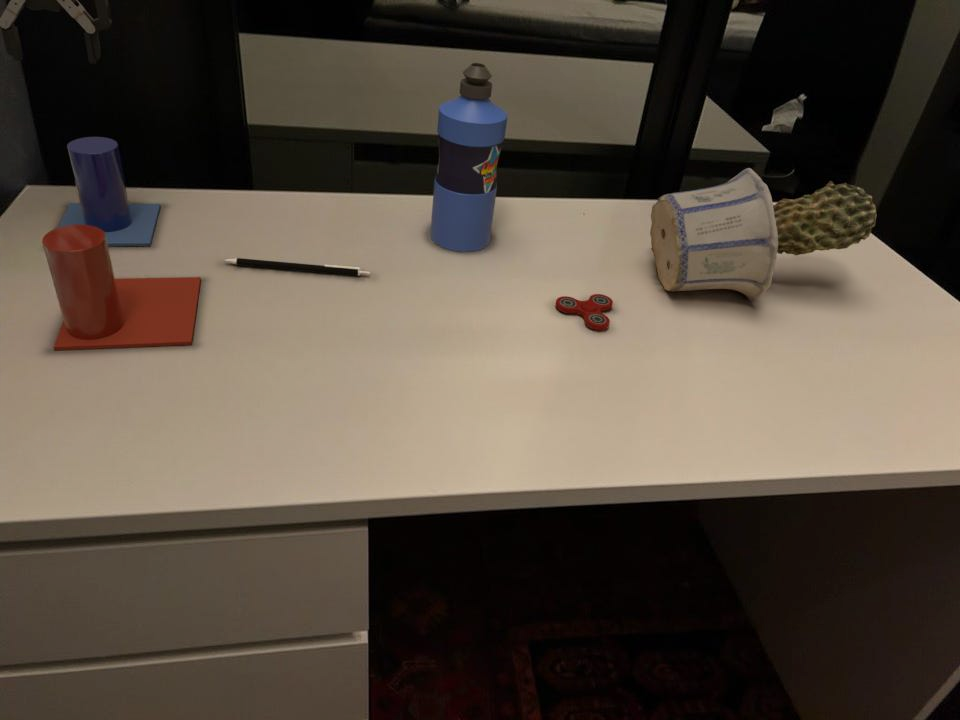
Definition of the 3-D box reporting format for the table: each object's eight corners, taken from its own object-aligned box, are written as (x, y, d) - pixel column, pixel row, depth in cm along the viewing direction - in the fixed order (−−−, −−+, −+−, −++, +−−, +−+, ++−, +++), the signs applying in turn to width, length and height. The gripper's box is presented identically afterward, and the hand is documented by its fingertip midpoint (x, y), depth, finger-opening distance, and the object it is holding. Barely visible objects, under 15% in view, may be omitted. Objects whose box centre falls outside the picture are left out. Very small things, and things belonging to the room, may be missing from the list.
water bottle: (417, 238, 109) (428, 63, 94) (449, 217, 116) (465, 50, 101) (471, 258, 106) (492, 81, 91) (501, 235, 113) (525, 66, 98)
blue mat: (51, 247, 96) (50, 243, 96) (70, 206, 105) (69, 203, 105) (150, 246, 99) (149, 243, 99) (160, 206, 108) (160, 203, 108)
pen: (369, 277, 98) (369, 270, 98) (223, 265, 97) (222, 257, 96) (369, 274, 99) (370, 267, 98) (225, 261, 98) (224, 254, 97)
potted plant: (683, 219, 90) (924, 176, 90) (640, 167, 104) (847, 130, 105) (680, 337, 100) (896, 298, 100) (641, 274, 115) (830, 240, 115)
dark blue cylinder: (81, 232, 99) (62, 153, 92) (89, 212, 103) (72, 136, 97) (129, 232, 100) (113, 154, 94) (134, 212, 105) (120, 137, 98)
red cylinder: (60, 340, 80) (35, 251, 74) (72, 310, 85) (49, 224, 78) (119, 338, 82) (100, 251, 75) (127, 309, 86) (109, 224, 80)
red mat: (54, 350, 80) (53, 346, 79) (79, 282, 90) (79, 279, 90) (192, 345, 83) (191, 341, 83) (201, 280, 94) (200, 276, 93)
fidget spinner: (605, 299, 101) (607, 291, 100) (628, 329, 95) (631, 321, 95) (551, 303, 99) (553, 294, 98) (572, 334, 93) (574, 326, 92)
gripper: (99, -81, 91) (119, 57, 100) (-34, -94, 87) (-1, 51, 96) (92, -76, 86) (114, 71, 94) (-52, -90, 81) (-15, 65, 90)
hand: (56, 61), depth 95 cm, fingers open, 8 cm apart
